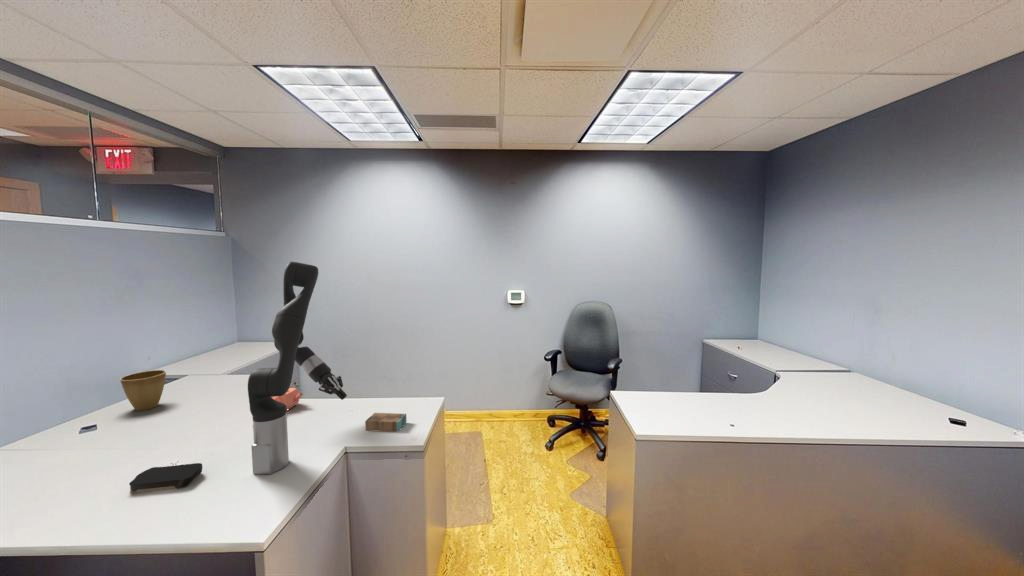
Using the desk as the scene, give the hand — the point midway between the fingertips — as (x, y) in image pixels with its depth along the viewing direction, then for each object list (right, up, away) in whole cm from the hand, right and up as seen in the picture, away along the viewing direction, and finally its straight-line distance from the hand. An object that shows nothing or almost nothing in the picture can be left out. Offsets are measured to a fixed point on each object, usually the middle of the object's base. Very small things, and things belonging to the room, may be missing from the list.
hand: (344, 397), depth 145 cm
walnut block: (+11, -10, 0) cm, 15 cm away
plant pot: (-104, -11, +20) cm, 107 cm away
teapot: (-36, -11, +18) cm, 42 cm away
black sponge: (-36, -15, -38) cm, 55 cm away
